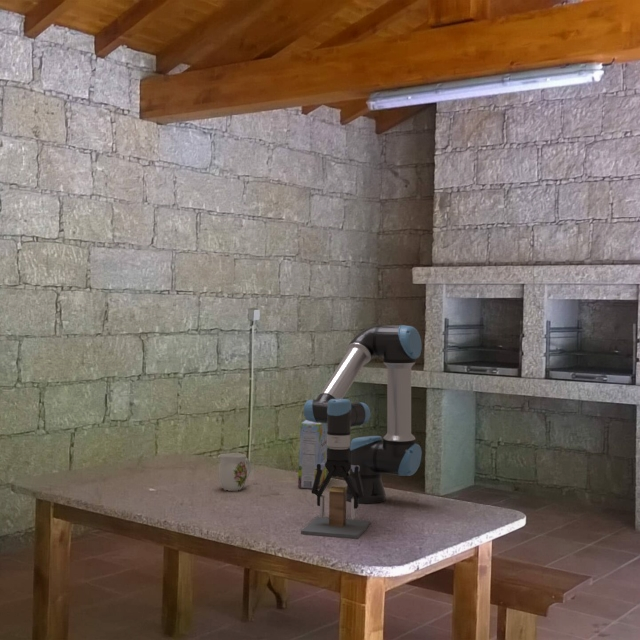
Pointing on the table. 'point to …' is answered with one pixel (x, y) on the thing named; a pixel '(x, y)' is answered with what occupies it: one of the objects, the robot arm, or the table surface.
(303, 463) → the snack box
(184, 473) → the table surface
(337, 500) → the post
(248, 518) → the table surface
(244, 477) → the pitcher
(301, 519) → the table surface
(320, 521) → the mat
